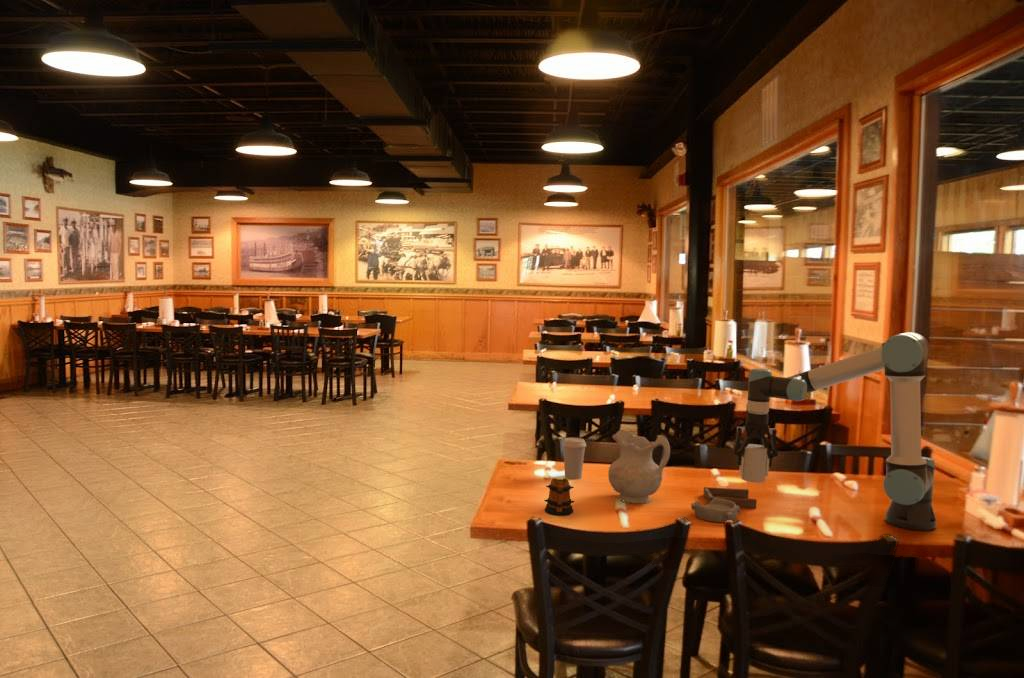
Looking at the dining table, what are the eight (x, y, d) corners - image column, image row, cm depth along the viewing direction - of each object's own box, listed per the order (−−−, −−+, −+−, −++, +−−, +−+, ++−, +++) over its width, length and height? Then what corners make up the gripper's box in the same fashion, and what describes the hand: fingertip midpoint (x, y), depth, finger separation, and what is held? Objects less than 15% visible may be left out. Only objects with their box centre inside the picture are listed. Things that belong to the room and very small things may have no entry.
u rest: (756, 508, 273) (756, 500, 273) (709, 506, 275) (710, 497, 274) (747, 497, 287) (747, 489, 286) (703, 495, 288) (703, 487, 288)
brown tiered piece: (543, 506, 269) (545, 473, 268) (573, 507, 268) (574, 474, 267) (543, 518, 256) (544, 484, 255) (574, 519, 255) (576, 485, 254)
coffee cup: (556, 475, 310) (558, 437, 308) (577, 473, 314) (579, 436, 312) (568, 481, 301) (569, 443, 300) (589, 479, 305) (591, 441, 304)
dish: (686, 516, 263) (687, 502, 262) (708, 508, 272) (709, 494, 272) (724, 527, 252) (725, 512, 252) (746, 518, 262) (747, 504, 262)
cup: (739, 475, 284) (741, 443, 283) (762, 477, 283) (764, 444, 282) (743, 481, 276) (746, 448, 275) (767, 483, 275) (769, 450, 274)
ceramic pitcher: (670, 498, 286) (673, 431, 285) (666, 510, 267) (669, 437, 267) (611, 492, 292) (614, 426, 291) (603, 503, 273) (606, 432, 272)
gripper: (784, 411, 280) (780, 473, 282) (725, 408, 281) (721, 470, 284) (790, 415, 273) (786, 479, 275) (729, 412, 274) (726, 475, 276)
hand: (753, 474), depth 279 cm, fingers closed on cup, 8 cm apart
